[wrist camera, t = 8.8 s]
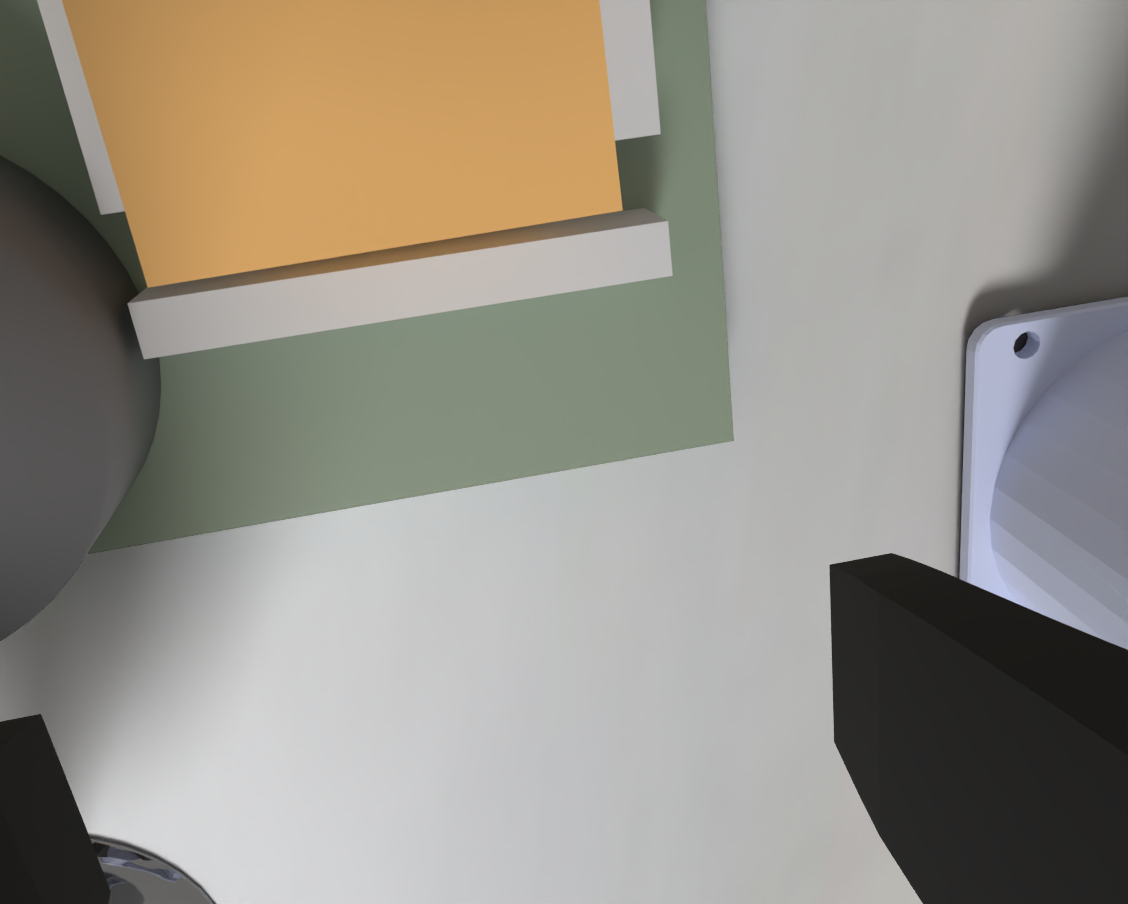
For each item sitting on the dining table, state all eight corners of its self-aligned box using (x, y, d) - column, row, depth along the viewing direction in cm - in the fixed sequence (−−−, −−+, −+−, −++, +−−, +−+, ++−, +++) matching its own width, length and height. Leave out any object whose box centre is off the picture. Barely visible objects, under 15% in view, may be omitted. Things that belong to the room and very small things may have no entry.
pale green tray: (645, -458, 14) (749, -687, 10) (709, 413, 19) (797, 511, 14) (-608, -349, 12) (-1129, -566, 8) (-182, 566, 17) (-369, 725, 13)
